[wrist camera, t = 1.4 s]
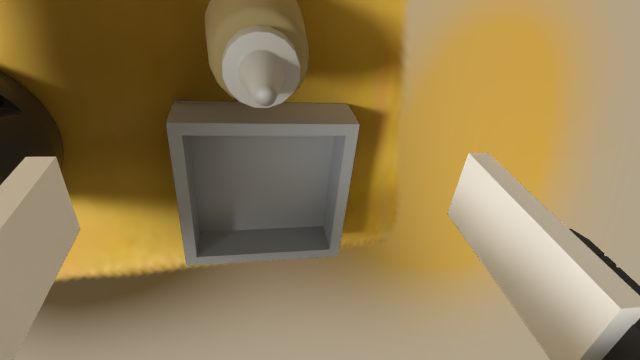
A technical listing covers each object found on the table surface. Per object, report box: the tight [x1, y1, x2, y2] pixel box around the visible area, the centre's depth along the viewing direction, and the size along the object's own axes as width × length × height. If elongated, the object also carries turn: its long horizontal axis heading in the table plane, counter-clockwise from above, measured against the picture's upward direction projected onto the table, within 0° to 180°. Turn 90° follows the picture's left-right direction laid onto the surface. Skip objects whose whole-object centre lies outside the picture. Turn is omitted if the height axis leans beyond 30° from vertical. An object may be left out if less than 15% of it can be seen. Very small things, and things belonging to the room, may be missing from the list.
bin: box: [166, 100, 360, 266], centre depth 41 cm, size 17×17×5 cm
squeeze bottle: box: [205, 0, 309, 108], centre depth 27 cm, size 8×8×18 cm
